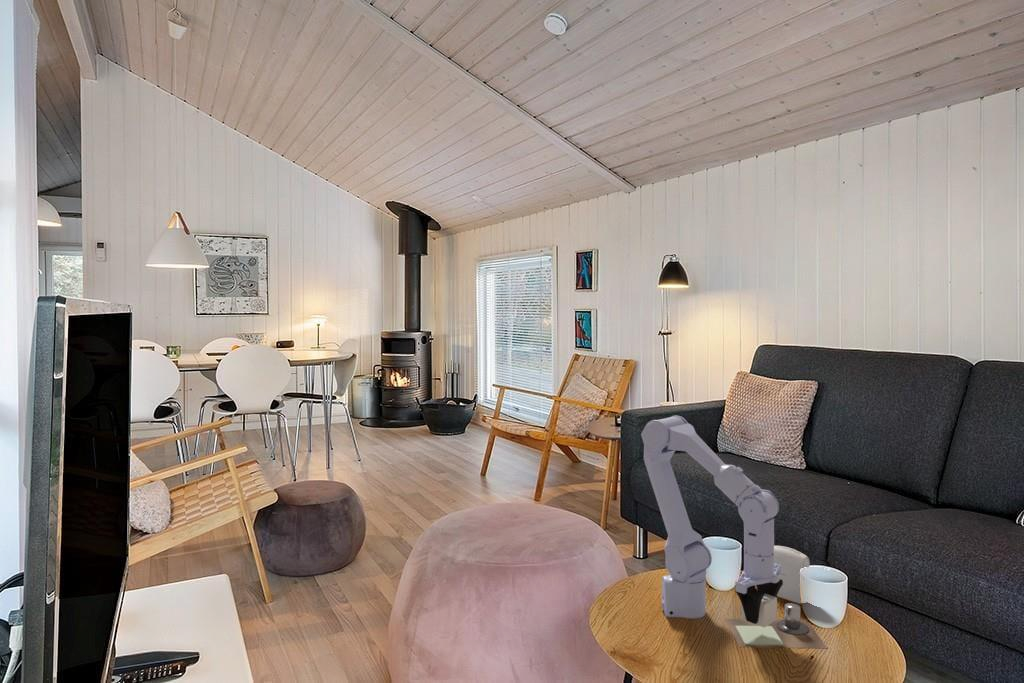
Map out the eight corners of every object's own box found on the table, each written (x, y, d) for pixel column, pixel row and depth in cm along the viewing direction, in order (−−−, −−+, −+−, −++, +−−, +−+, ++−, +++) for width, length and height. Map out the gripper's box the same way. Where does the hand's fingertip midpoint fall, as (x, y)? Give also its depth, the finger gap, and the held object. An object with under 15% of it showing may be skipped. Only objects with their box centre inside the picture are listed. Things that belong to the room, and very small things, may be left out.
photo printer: (761, 595, 159) (761, 544, 158) (770, 590, 162) (771, 540, 161) (803, 610, 151) (803, 556, 150) (812, 605, 154) (813, 551, 153)
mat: (744, 644, 134) (744, 643, 134) (735, 626, 141) (735, 625, 141) (783, 645, 133) (783, 644, 133) (771, 627, 141) (771, 626, 141)
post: (781, 634, 138) (781, 613, 137) (771, 620, 144) (772, 599, 144) (813, 635, 137) (814, 613, 137) (802, 620, 144) (802, 599, 143)
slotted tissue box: (741, 619, 137) (741, 596, 137) (754, 611, 141) (754, 589, 140) (764, 627, 134) (764, 604, 133) (776, 619, 137) (776, 596, 137)
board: (739, 652, 133) (739, 646, 133) (724, 624, 145) (724, 618, 145) (828, 654, 132) (828, 648, 132) (806, 625, 144) (806, 620, 144)
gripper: (758, 566, 129) (758, 636, 129) (795, 548, 138) (795, 613, 139) (725, 556, 134) (725, 623, 135) (763, 539, 143) (763, 602, 144)
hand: (758, 617), depth 137 cm, fingers closed on slotted tissue box, 5 cm apart
